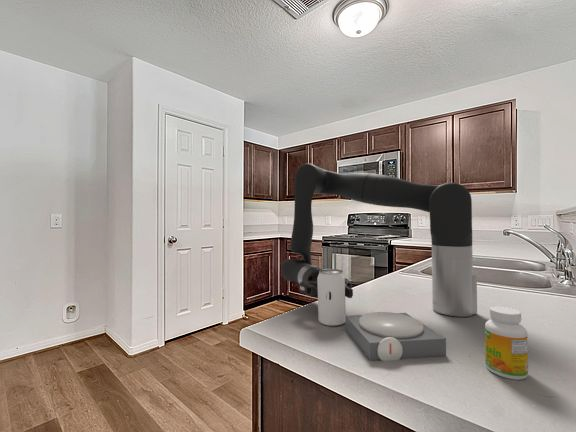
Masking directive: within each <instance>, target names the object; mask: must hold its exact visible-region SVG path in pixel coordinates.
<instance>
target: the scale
mask: <svg viewBox="0 0 576 432" xmlns="http://www.w3.org/2000/svg"><path fill="white" fill-rule="evenodd" d="M345 318H346V322H345V330H346V332H347V333H348V335H350V337H351V338H352V339H353V341H354V343H356V345H357V346H358V347H359V348H360V349H361V351H362V352H363V353H364V355H365V356H366V357H367V358H368V359H369V361H380V360H381V362H388V361H399V360H400V359H412V358H425V357H426V358H427V357H429V358H430V357H442V356H444V357H445V356H447V339H446V338H445V337H444V336H443V335H441V334H439V333H438V332H436V331H435V330H433V329H432V328H430V327H429V326H427V325H426V324H424V323H422V322H421V320H419V319H416V318H415V317H413V316H411V315H410V314H408V313H407V312H397V313H396V312H390V311H388V312H387V311H375V312H369V313H365V314H352V315H346V316H345Z"/></svg>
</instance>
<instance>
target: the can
mask: <svg viewBox="0 0 576 432" xmlns="http://www.w3.org/2000/svg"><path fill="white" fill-rule="evenodd" d="M322 269H323V268H322ZM345 278H346V277H345V275H344V274H343V270H342V269H338V268H326V269H325V268H324V269H323V270H320V271H319V275H318V278H317V286H318V297H317V313H318V314H317V315H318V322H319V323H321V325H324V326H327V327H338V326H342V325H344V324H346V318H345V316H347V314H346V313H347V311H346V309H347V308H346V296H345ZM329 291H330V292H331V300H329ZM326 294H327V298H326Z"/></svg>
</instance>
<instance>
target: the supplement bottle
mask: <svg viewBox="0 0 576 432" xmlns="http://www.w3.org/2000/svg"><path fill="white" fill-rule="evenodd" d="M489 316H490V318H491V319H488V320H487V321H486V322H485V324H484V337H485V338H484V341H485V343H484V345H485V346H484V349H485V350H484V351H485V352H484V355H485V357H484V358H485V366H486V367H485V368H486V369H487V370H489V371H490V372H491V373H493V374H495V375H496V376H499V377H502V378H506V379H509V380H515V381H518V380H519V381H520V380H525V379H527V377H528V375H529V358H528V357H529V356H528V355H529V354H528V353H529V351H528V347H529V346H528V330H527V329H526V327H525V326H524V325H523V324H520V323H521V321H522V312H521V311H520V310H518V309H515V308H513V307H512V308H511V307H506V306H496V305H495V306H491V307H489Z"/></svg>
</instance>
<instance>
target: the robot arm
mask: <svg viewBox="0 0 576 432" xmlns="http://www.w3.org/2000/svg"><path fill="white" fill-rule="evenodd" d="M314 194H316V195H317V194H318V195H321V194H322V195H334V196H340V197H343V198H345V199H348V200H352V201H355V202H356V201H357V202H360V203H364V204H368V205H373V206H379V207H380V206H381V207H391V208H403V209H404V208H407V209H413V210H419V211H422V212H427V213H429V229H430V230H429V231H430V238H431V269H432V270H431V276H432V277H431V282H432V283H431V284H432V288H431V289H432V310H433V311H434V312H436V313H439V314H442V315H445V316H450V317H460V318H462V317H471V316H473V315H477V314H478V279H477V278H478V277H477V276H476V275H475V274H474V272H473V270H474V268H473V267H474V264H473V261H474V259H473V213H472V212H473V211H472V210H473V209H472V208H473V205H472V202H473V201H472V199H473V198H472V196H471V193H470V191H469V190H468V188H466V186H464V185H462V184H460V183H457V182H446V183H442V184H439V185H437V184H425V183H424V184H423V183H419V182H417V183H416V182H414V181H413V182H412V181H409V180H407V179H406V180H405V179H403V178H399V177H396V176H391V175H386V174H379V173H372V172H371V173H370V172H353V173H340V172H335V171H330V170H327V169H324V168H322V167H319V166H318V165H315V164H313V163H310V162H309V163H308V162H307V163H303V164H301V165H300V166H299V167H298V169H297V170H296V172H295V176H294V212H293V213H294V215H293V226H292V233H291V239H290V245H289V249H290V251H291V252H292V253H295V254H298V255H300V256H301V259H296V258H295V259H293V258H288V259H285V260H284V261H283V262H282V264H281V266H280V267H281V268H280V273H281V275H282V276H281V277H283V279H285V280H286V281H288V282H291V283H295V284H298V285H299V293H301V294H304V295H307V296H309V297H312V298H316V297H317V298H318V286H317V278H318V275H319V271H320V270H323V268H322V267H320V266H316V265H312V255H311V254H312V252H311V249H312V241H313V235H314V222H313V221H314V219H313V214H312V212H313V211H312V204H313V203H312V202H313V197H314V196H313V195H314ZM344 278H345V298H348V299H352V298H353V296H354V289H353V288H352V282H351V281H350V280H349V279H348V278H346V277H344ZM326 298H327V294H326ZM329 300H331V292H330V291H329Z"/></svg>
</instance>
